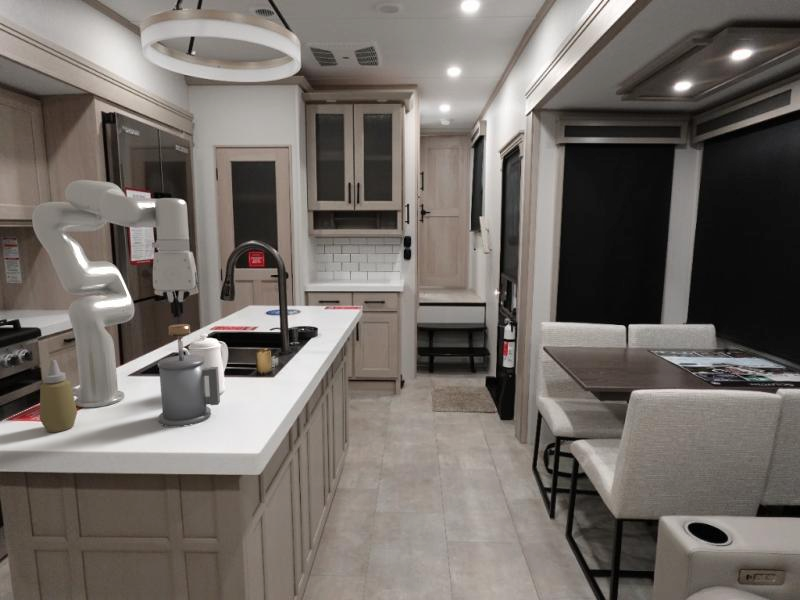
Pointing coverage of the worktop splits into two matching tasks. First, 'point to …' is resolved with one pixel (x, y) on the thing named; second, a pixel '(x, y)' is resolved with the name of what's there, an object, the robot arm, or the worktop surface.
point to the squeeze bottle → (57, 401)
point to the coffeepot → (210, 357)
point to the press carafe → (186, 390)
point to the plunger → (179, 336)
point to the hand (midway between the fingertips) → (178, 316)
